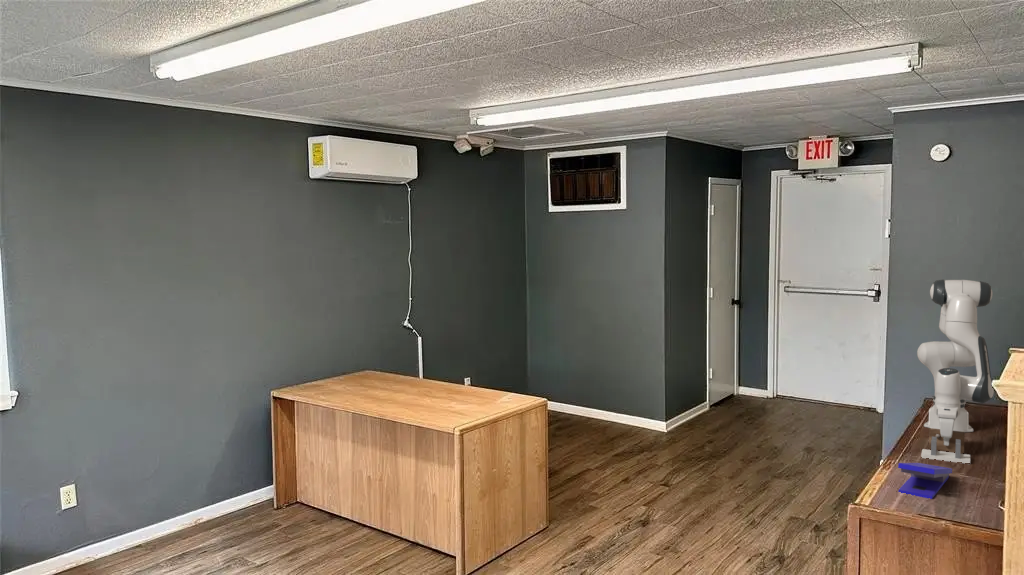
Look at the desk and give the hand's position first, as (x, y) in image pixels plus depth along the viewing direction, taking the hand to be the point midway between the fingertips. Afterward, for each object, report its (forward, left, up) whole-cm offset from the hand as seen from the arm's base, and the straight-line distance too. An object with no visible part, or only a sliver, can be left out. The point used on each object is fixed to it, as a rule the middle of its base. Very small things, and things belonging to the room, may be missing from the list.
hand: (946, 443), depth 290 cm
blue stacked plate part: (+50, -5, -3) cm, 51 cm away
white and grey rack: (+12, 0, -3) cm, 12 cm away
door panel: (0, 0, -3) cm, 3 cm away
